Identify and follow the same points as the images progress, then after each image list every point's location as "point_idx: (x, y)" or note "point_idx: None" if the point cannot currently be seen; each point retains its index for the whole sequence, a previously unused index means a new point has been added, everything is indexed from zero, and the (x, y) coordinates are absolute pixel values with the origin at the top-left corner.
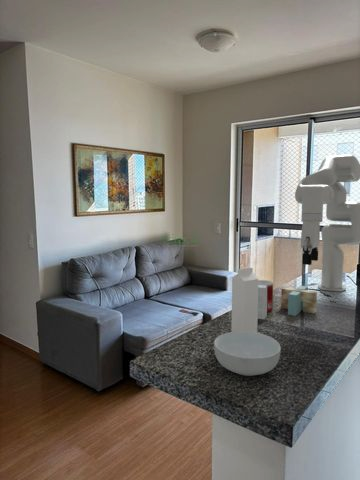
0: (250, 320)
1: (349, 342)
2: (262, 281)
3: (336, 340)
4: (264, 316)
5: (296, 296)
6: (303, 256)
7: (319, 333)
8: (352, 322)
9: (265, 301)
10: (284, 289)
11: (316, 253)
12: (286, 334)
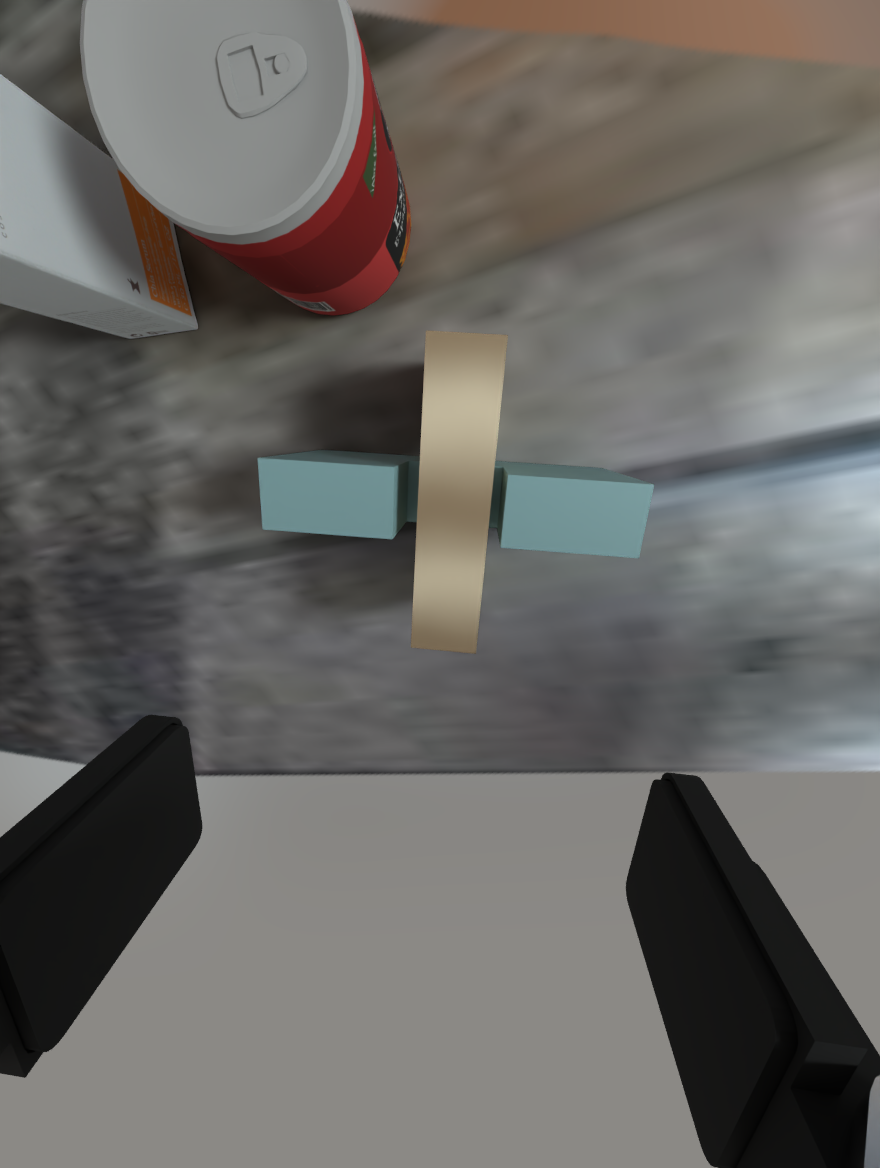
0: None
1: None
2: (310, 16)
3: (117, 718)
4: (114, 333)
5: (266, 527)
6: (12, 849)
7: (144, 653)
8: (387, 763)
9: (34, 306)
10: (425, 367)
11: (683, 1061)
12: (22, 523)
